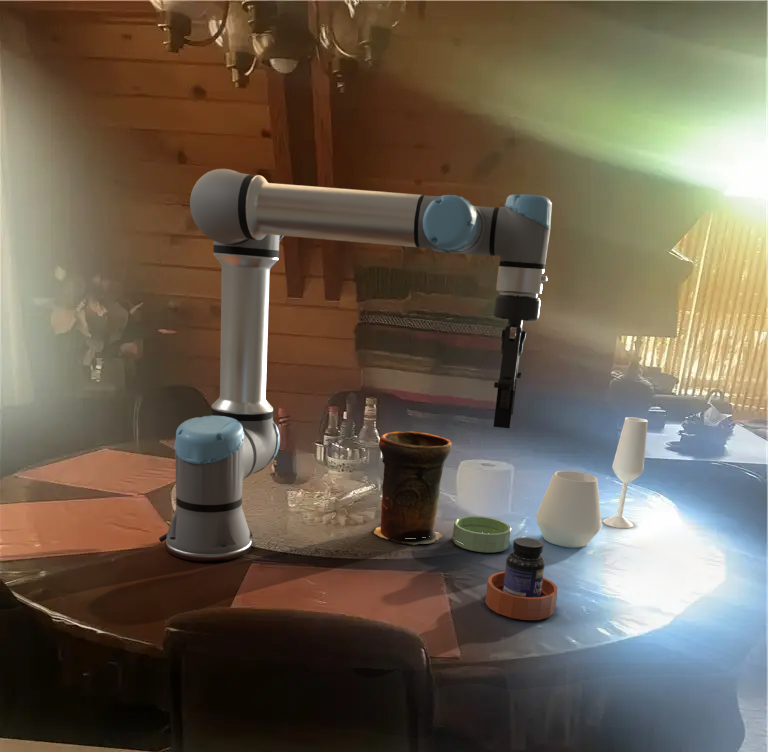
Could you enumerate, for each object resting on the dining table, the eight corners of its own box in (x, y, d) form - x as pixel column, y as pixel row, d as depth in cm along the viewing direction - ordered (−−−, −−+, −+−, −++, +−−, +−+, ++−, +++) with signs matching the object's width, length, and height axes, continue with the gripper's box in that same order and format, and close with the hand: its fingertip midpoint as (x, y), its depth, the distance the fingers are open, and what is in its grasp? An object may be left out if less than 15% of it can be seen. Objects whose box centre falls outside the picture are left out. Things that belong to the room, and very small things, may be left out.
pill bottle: (538, 615, 121) (547, 551, 118) (500, 609, 122) (508, 545, 119) (538, 600, 127) (547, 538, 123) (501, 594, 128) (510, 533, 124)
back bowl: (449, 548, 148) (451, 529, 147) (456, 531, 158) (458, 513, 157) (506, 557, 146) (509, 537, 145) (509, 538, 156) (512, 520, 155)
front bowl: (482, 615, 120) (485, 592, 119) (488, 588, 131) (490, 567, 129) (553, 626, 118) (557, 603, 117) (553, 598, 129) (557, 576, 127)
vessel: (422, 520, 164) (431, 429, 158) (454, 542, 152) (465, 445, 146) (361, 524, 158) (368, 430, 152) (389, 548, 146) (398, 447, 140)
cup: (521, 537, 158) (530, 473, 153) (552, 524, 168) (561, 463, 163) (580, 556, 150) (591, 488, 145) (609, 541, 160) (620, 478, 155)
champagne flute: (631, 530, 168) (650, 424, 161) (600, 524, 171) (618, 419, 163) (635, 522, 174) (654, 419, 167) (605, 516, 177) (623, 415, 169)
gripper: (541, 298, 114) (523, 436, 121) (541, 295, 138) (526, 411, 144) (491, 294, 115) (476, 431, 122) (499, 292, 139) (487, 406, 145)
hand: (503, 420), depth 133 cm, fingers open, 13 cm apart
